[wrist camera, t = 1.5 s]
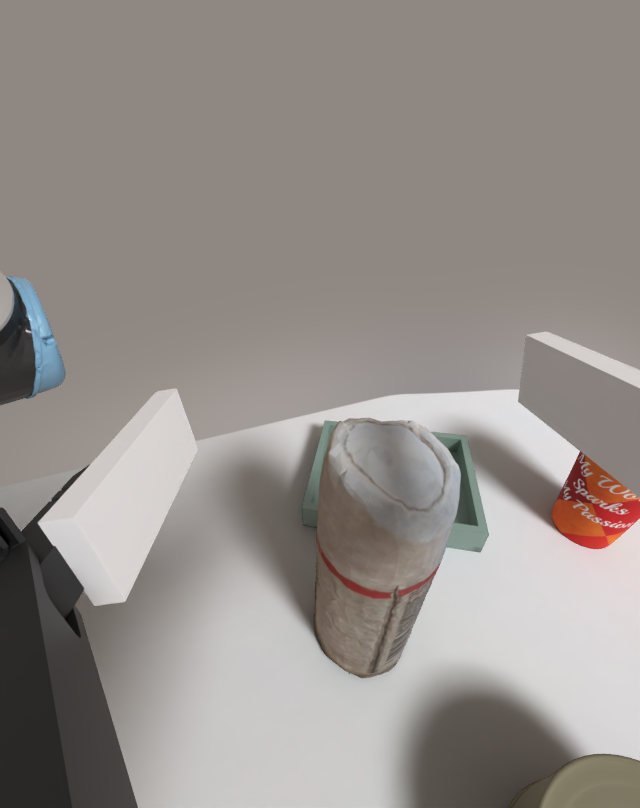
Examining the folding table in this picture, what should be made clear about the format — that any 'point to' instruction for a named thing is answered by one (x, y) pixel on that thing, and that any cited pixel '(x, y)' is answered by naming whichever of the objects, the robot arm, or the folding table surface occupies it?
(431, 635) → the folding table surface
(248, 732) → the folding table surface
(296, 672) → the folding table surface
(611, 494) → the paper cup
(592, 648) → the folding table surface
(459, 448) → the tray
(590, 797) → the can
